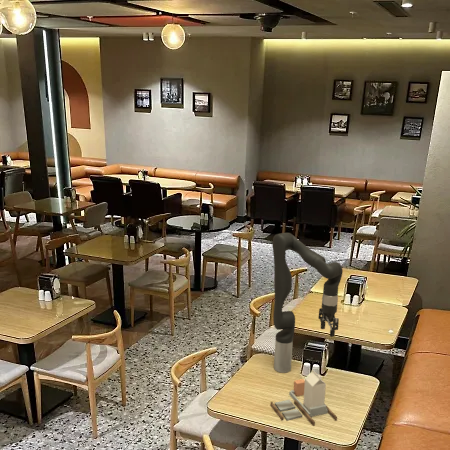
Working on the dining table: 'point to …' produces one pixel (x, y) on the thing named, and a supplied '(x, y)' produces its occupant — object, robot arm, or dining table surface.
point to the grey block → (300, 391)
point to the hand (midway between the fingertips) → (327, 332)
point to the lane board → (294, 411)
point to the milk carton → (314, 391)
